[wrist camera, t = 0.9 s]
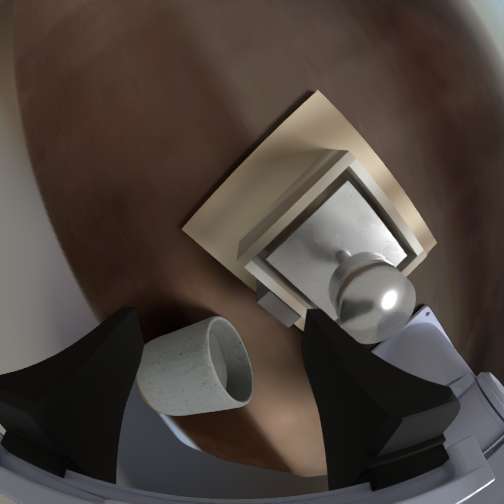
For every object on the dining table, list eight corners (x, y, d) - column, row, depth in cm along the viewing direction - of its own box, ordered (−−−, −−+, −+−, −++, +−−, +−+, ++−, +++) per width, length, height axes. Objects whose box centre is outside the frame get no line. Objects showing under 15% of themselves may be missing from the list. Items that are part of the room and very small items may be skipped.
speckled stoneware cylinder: (142, 328, 25) (114, 387, 18) (215, 297, 23) (202, 361, 16) (202, 395, 28) (194, 453, 21) (269, 375, 27) (274, 437, 20)
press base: (433, 240, 21) (465, 262, 17) (320, 342, 25) (332, 380, 20) (316, 91, 17) (335, 76, 13) (183, 226, 21) (164, 250, 16)
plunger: (403, 252, 17) (458, 301, 11) (332, 317, 19) (359, 384, 13) (345, 179, 15) (398, 202, 9) (265, 256, 17) (272, 318, 11)
